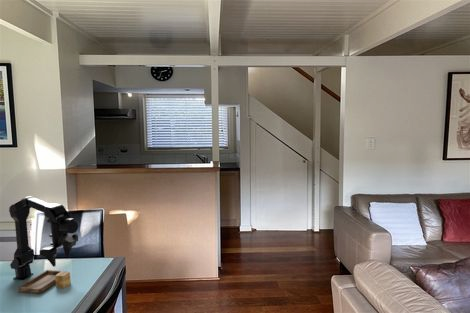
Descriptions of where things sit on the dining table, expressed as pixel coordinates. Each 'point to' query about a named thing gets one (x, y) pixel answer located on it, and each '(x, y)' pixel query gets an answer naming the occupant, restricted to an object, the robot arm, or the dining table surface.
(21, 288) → the walnut tray
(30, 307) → the dining table surface
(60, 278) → the ochre block
